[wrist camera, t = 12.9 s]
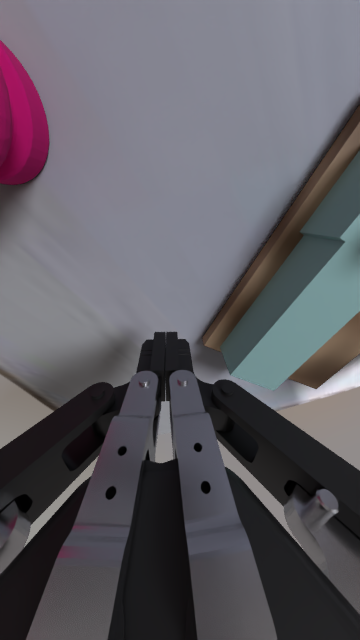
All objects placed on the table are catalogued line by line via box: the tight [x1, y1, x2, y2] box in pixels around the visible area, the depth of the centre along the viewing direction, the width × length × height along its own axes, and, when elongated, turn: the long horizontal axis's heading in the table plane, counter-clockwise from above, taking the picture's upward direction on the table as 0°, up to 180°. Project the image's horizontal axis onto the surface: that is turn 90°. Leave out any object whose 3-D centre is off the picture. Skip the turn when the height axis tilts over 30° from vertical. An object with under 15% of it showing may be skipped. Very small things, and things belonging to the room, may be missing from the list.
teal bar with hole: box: [220, 150, 360, 391], centre depth 13 cm, size 16×5×4 cm, turn 153°
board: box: [202, 105, 360, 389], centre depth 16 cm, size 19×15×1 cm
